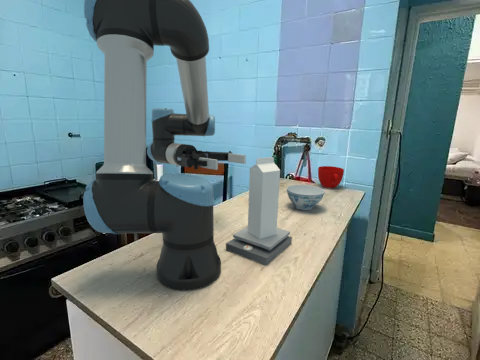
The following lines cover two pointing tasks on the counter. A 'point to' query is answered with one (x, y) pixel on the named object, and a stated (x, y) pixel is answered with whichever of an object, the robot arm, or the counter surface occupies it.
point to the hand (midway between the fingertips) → (232, 162)
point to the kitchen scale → (259, 245)
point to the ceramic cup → (330, 176)
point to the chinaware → (305, 196)
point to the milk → (263, 198)
